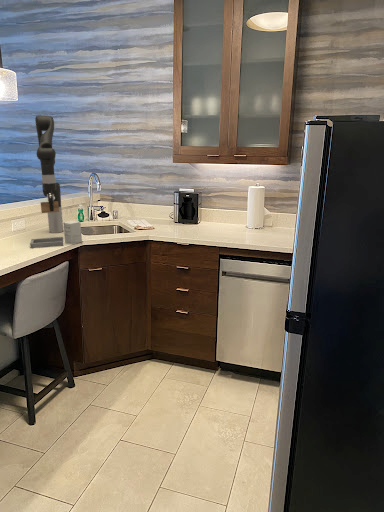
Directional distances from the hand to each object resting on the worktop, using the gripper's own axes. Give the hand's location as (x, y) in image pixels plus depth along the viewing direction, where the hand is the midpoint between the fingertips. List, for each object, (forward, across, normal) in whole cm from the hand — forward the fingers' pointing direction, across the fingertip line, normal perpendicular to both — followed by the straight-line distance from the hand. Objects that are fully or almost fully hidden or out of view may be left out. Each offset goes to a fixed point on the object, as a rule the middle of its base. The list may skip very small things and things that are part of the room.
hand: (51, 210), depth 245 cm
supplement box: (+19, +13, +11) cm, 25 cm away
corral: (+18, +13, -4) cm, 23 cm away
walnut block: (+1, 0, -1) cm, 1 cm away
